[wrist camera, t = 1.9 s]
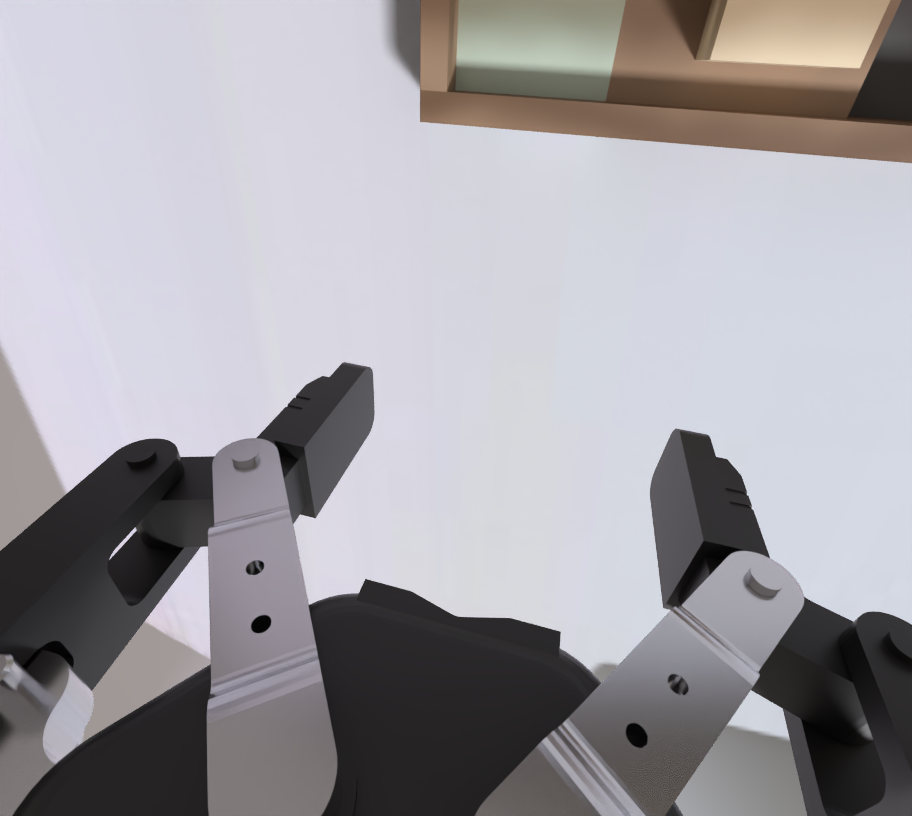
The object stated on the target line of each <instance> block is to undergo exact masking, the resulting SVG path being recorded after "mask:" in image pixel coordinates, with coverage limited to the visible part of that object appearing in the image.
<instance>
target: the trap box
mask: <svg viewBox="0 0 912 816" xmlns="http://www.w3.org/2000/svg"><path fill="white" fill-rule="evenodd" d="M711 2H712V0H421V12H420V122H430V123H442V124H454V125H465V126H477V127H489V128H501V129H513V130H525V131H537V132H549V133H560V134H572V135H584V136H596V137H608V138H620V139H632V140H644V141H655V142H667V143H679V144H691V145H703V146H715V147H727V148H739V149H750V150H762V151H774V152H786V153H798V154H810V155H822V156H834V157H846V158H857V159H869V160H881V161H893V162H905V163H912V0H890V2H889V4H888V7H887V9H886V11H885V13H884V15H883V18H882V20H881V22H880V24H879V27H878V29H877V31H876V33H875V35H874V38H873V40H872V42H871V44H870V46H869V49H868V51H867V53H866V55H865V57H864V60H863V62H862V64H861V66H860V68H818V67H801V66H783V65H766V64H749V63H731V62H714V61H696V60H695V59H696V55H697V52H698V48H699V45H700V41H701V38H702V34H703V31H704V27H705V23H706V20H707V16H708V13H709V9H710V6H711Z"/></svg>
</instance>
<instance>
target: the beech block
mask: <svg viewBox="0 0 912 816" xmlns="http://www.w3.org/2000/svg"><path fill="white" fill-rule="evenodd" d="M889 2H890V0H712V2H711V6H710V9H709V13H708V16H707V20H706V23H705V27H704V31H703V34H702V38H701V41H700V45H699V48H698V52H697V55H696V59H695V60H696V61H714V62H731V63H749V64H766V65H783V66H801V67H818V68H860V66H861V64H862V62H863V60H864V57H865V55H866V53H867V51H868V49H869V46H870V44H871V42H872V40H873V38H874V35H875V33H876V31H877V29H878V27H879V24H880V22H881V20H882V18H883V15H884V13H885V11H886V9H887V7H888V4H889Z"/></svg>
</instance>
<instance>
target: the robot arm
mask: <svg viewBox="0 0 912 816" xmlns="http://www.w3.org/2000/svg"><path fill="white" fill-rule="evenodd" d="M373 421H374V389H373V372H372V369H371V368H370V367H366V366H361V365H356V364H351V363H345V362H344V363H342V364H341V365H340V366H339V367H338V368H337V370H336V371H335V372H334V373H333V374H332V375H331V376H330V377H325V376H322V377H320V378H318V379H316V380H314V381H312V382H310V383H308V384H307V385H306V386H305V387H304V388H303V389H302V390H301V391H300V392H299V393H298V394H297V395H296V398H294V399H293V400H292V401H291V402H290V403H289V404H288V407H285V408H284V409H283V410H282V411H281V412H280V414H279V415H278V416H277V417H276V418H275V419H274V420H273V421H272V422H271V423H270V424H269V425H268V426H267V427H266V429H265V430H264V431H263V432H262V433H261V434H260V435H259V436H258V437H257V438H249V439H243V440H239V441H236V442H233V443H231V444H229V445H227V446H225V447H224V448H222V449H221V450H220V451H219V452H218V453H217V454H216V456H213V457H180V455H179V452H178V450H177V447H176V446H175V444H173V443H172V442H170V441H168V440H164V439H145V440H140V441H137V442H134V443H131V444H129V445H126V446H124V447H122V448H121V449H119V450H118V451H116V452H115V453H114V454H113V455H111V456H110V457H109V458H108V459H107V460H106V461H104V462H103V463H102V464H101V465H100V466H99V467H97V468H96V469H95V470H94V471H93V472H92V473H90V474H89V475H88V476H87V477H86V478H85V479H83V480H82V481H81V482H80V483H79V484H78V485H76V486H75V487H74V488H73V489H72V490H71V491H70V492H68V493H67V494H66V495H65V496H64V497H63V498H61V499H60V500H59V501H58V502H57V503H56V504H54V505H53V506H52V507H51V508H50V509H49V510H47V511H46V512H45V513H44V514H43V515H42V516H40V517H39V518H38V519H37V520H36V521H35V522H33V523H32V524H31V525H30V526H29V527H28V528H27V529H25V530H24V531H23V532H22V533H21V534H20V535H19V536H17V537H16V538H15V539H14V540H13V541H11V542H10V543H9V544H8V545H7V546H6V547H4V548H3V549H2V550H1V551H0V816H683V815H682V813H681V811H680V810H679V808H678V806H677V805H676V803H675V800H676V799H677V797H678V796H679V794H680V793H681V791H682V790H683V788H684V787H685V785H686V784H687V782H688V781H689V780H690V778H691V777H692V775H693V774H694V772H695V771H696V769H697V768H698V766H699V765H700V763H701V762H702V761H703V759H704V757H705V756H706V755H707V753H708V752H709V750H710V749H711V747H712V746H713V744H714V743H715V741H716V740H717V739H718V737H719V736H720V734H721V733H722V731H723V730H724V728H725V727H726V725H727V724H728V722H729V721H730V720H731V718H732V717H733V715H734V714H735V712H736V711H737V709H738V708H739V706H740V705H741V703H742V702H743V700H744V699H745V698H746V696H747V695H748V693H749V692H750V690H752V691H754V692H755V693H757V694H759V695H761V696H762V697H764V698H766V699H768V700H769V701H771V702H773V703H774V704H776V705H778V706H780V707H781V708H783V711H784V715H785V720H786V724H787V729H788V733H789V737H790V742H791V746H792V750H793V755H794V759H795V763H796V768H797V772H798V776H799V781H800V785H801V790H802V794H803V798H804V803H805V807H806V811H807V816H912V625H911V624H910V623H908V622H906V621H904V620H902V619H900V618H898V617H895V616H893V615H890V614H886V613H882V612H867V613H864V614H862V615H861V616H860V617H858V618H857V619H856V620H855V621H854V622H853V621H851V620H849V619H847V618H845V617H842V616H840V615H838V614H836V613H834V612H832V611H830V610H828V609H826V608H824V607H822V606H820V605H818V604H816V603H814V602H812V601H810V600H808V599H807V598H805V597H804V595H803V592H802V589H801V587H800V585H799V583H798V582H797V581H796V579H795V578H794V577H793V576H792V575H791V574H790V572H788V571H787V570H786V569H785V568H784V567H783V566H781V565H780V564H779V563H777V562H775V561H774V560H772V559H770V557H769V554H768V551H767V548H766V545H765V542H764V539H763V537H762V534H761V531H760V528H759V525H758V522H757V519H756V517H755V514H754V511H753V510H752V509H751V507H752V505H751V502H750V499H749V496H747V491H746V488H745V485H744V482H743V479H742V476H741V475H740V474H739V473H738V471H737V470H736V469H735V468H734V467H733V466H732V464H731V463H730V462H729V461H728V460H727V459H723V458H718V457H716V456H715V453H714V449H713V446H712V443H711V439H710V437H709V436H708V435H706V434H701V433H696V432H691V431H686V430H681V429H675V430H674V431H673V432H672V434H671V436H670V438H669V440H668V442H667V445H666V447H665V449H664V451H663V454H662V456H661V458H660V460H659V463H658V465H657V467H656V469H655V472H654V474H653V477H652V482H651V488H650V500H651V508H652V517H653V525H654V534H655V542H656V550H657V559H658V567H659V576H660V584H661V593H662V601H663V608H666V609H670V610H671V611H670V612H669V613H668V614H667V615H666V616H665V617H664V618H663V619H662V620H661V621H660V622H659V623H658V624H657V625H656V626H655V628H654V629H653V630H652V631H651V632H650V633H649V634H648V635H647V636H646V637H645V638H644V639H643V640H642V641H641V642H640V643H639V644H638V645H637V646H636V647H635V648H634V649H633V651H632V652H631V653H630V654H629V655H628V656H627V657H626V658H625V659H624V660H623V661H622V662H621V663H620V664H619V665H618V666H617V667H616V668H615V669H614V670H613V671H612V673H611V674H610V675H609V676H608V677H607V678H606V679H605V680H604V681H603V682H602V683H601V682H600V681H599V680H598V679H597V678H596V677H595V676H594V675H593V674H592V672H591V671H590V670H588V669H587V668H586V667H585V666H584V665H583V664H582V663H581V662H579V661H578V660H577V659H575V658H574V657H572V656H571V655H570V654H568V653H567V652H565V651H563V650H562V649H560V633H561V632H559V631H556V630H552V629H548V628H545V627H541V626H537V625H534V624H530V623H526V622H522V621H519V620H515V619H511V618H475V617H457V616H454V615H452V614H450V613H448V612H447V611H445V610H443V609H441V608H440V607H438V606H436V605H434V604H433V603H431V602H429V601H427V600H425V599H424V598H422V597H420V596H418V595H417V594H415V593H413V592H411V591H408V590H404V589H400V588H397V587H393V586H389V585H385V584H382V583H378V582H374V581H371V580H367V579H365V581H364V584H363V586H362V588H361V590H360V592H359V594H343V595H337V596H333V597H329V598H326V599H323V600H320V601H317V602H315V603H313V604H310V605H309V602H308V597H307V592H306V587H305V582H304V577H303V572H302V567H301V562H300V557H299V552H298V547H297V542H296V537H295V532H294V527H293V524H294V522H295V521H296V519H297V518H298V516H299V515H300V514H301V515H305V516H309V517H313V518H316V517H317V515H318V513H319V512H320V510H321V509H322V507H323V505H324V504H325V502H326V501H327V499H328V498H329V496H330V494H331V493H332V491H333V490H334V488H335V487H336V485H337V483H338V482H339V480H340V479H341V477H342V476H343V474H344V472H345V471H346V469H347V468H348V466H349V465H350V463H351V461H352V460H353V458H354V457H355V455H356V454H357V452H358V450H359V449H360V447H361V446H362V444H363V442H364V441H365V439H366V438H367V436H368V435H369V433H370V431H371V428H372V425H373ZM135 527H136V529H137V531H136V532H135V533H134V534H133V535H132V536H131V537H130V539H129V540H128V541H127V542H126V543H125V544H124V545H123V546H122V547H121V548H120V549H119V550H118V552H117V553H116V554H115V555H114V556H113V557H112V558H111V559H110V556H111V554H112V553H113V551H114V550H115V548H116V547H117V546H118V545H119V544H120V543H121V542H122V541H123V540H124V539H125V538H126V536H127V535H128V534H129V533H130V532H131V531H132V530H133V529H134V528H135ZM203 546H208V563H209V608H210V653H211V664H210V665H209V666H207V667H205V668H204V669H202V670H200V671H199V672H197V673H195V674H194V675H192V676H191V677H189V678H187V679H186V680H184V681H182V682H181V683H179V684H178V685H176V686H174V687H172V688H171V689H169V690H167V691H166V692H164V693H163V694H161V695H160V696H158V697H156V698H154V699H153V700H151V701H149V702H148V703H147V704H144V705H143V706H141V707H140V708H138V709H136V710H135V711H133V712H132V713H130V714H128V715H127V716H125V717H123V718H121V719H120V720H118V721H117V722H115V723H113V724H112V725H110V726H108V727H107V728H105V729H104V730H102V731H100V732H99V733H97V734H95V735H94V736H92V737H91V738H89V739H88V740H86V741H84V742H83V743H82V744H81V742H82V740H83V737H84V729H85V727H86V725H87V723H88V722H89V719H90V717H91V714H92V711H93V704H94V699H93V694H92V692H91V691H92V690H93V689H94V687H95V686H96V684H97V683H98V682H99V681H100V679H101V678H102V677H103V675H104V674H105V673H106V671H107V670H108V669H109V667H110V666H111V665H112V663H113V662H114V660H115V659H116V658H117V657H118V655H119V654H120V653H121V651H122V650H123V649H124V648H125V646H126V645H127V644H128V642H129V641H130V640H131V638H132V637H133V636H134V634H135V633H136V632H137V630H138V629H139V628H140V626H141V625H142V624H143V622H144V621H145V620H146V618H147V617H148V616H149V615H150V613H151V612H152V611H153V609H154V608H155V607H156V605H157V604H158V603H159V601H160V600H161V599H162V597H163V596H164V595H165V593H166V592H167V591H168V589H169V588H170V587H171V585H172V584H173V583H174V581H175V580H176V579H177V577H178V576H179V575H180V573H181V572H182V571H183V570H184V568H185V567H186V566H187V564H188V563H189V562H190V560H191V559H192V558H193V556H194V555H195V554H196V552H197V551H198V550H199V548H200V547H203ZM109 559H110V560H109Z"/></svg>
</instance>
